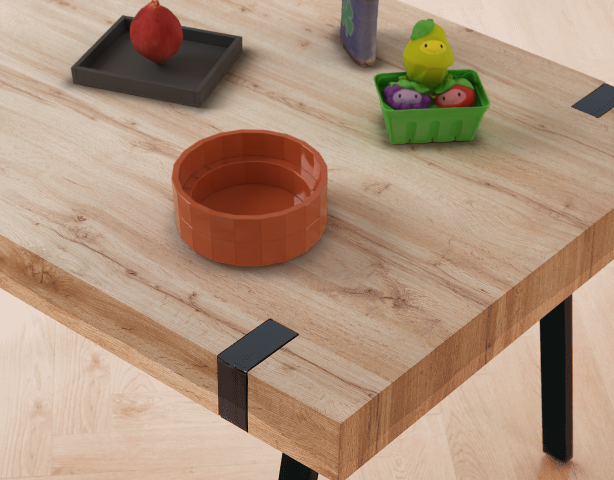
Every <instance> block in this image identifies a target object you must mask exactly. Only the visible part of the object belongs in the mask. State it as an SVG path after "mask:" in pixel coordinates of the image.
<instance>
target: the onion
mask: <svg viewBox="0 0 614 480" xmlns="http://www.w3.org/2000/svg"><path fill="white" fill-rule="evenodd" d="M133 17H134V19H133V21H132V22H131V26H130V37H131V42H132V45H133V47H134V49H135V50H136V51H137V52H138V53H139V54H141V55H142V56H143V57H145V58H146V59H148V60H150V61H152V62H154V63H156V64H164V63H165V62H166V61H167V60H168V59H170V58H171V57H173V56H174V55H175V54H176V53H177V52H178V50H179V48H180V46H181V44H182V42H183V32H182V27H181V26H182V24H181V22H180V20H179V18H178V17H177V16H176V14H174V13H173V12H172V10H170V9H169V8H168V7H165V6H164V5H161V3H160V1H159V0H151V1H150V2H148V3H147V4H146V5H144V6H142V7H141V8H140V9H139V10H138V12H137V13H136V14H135V16H133Z"/></svg>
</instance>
